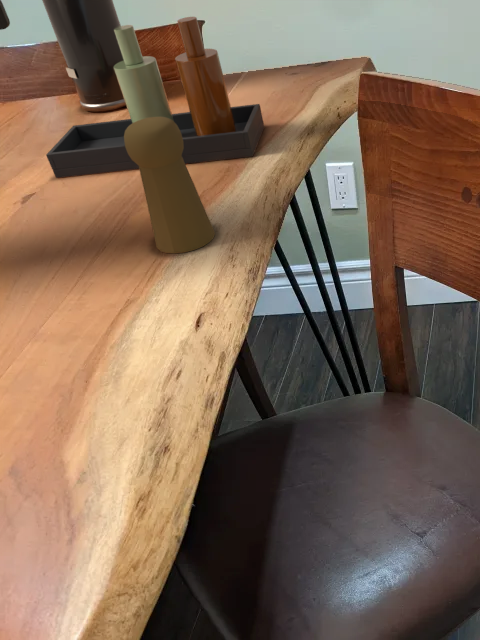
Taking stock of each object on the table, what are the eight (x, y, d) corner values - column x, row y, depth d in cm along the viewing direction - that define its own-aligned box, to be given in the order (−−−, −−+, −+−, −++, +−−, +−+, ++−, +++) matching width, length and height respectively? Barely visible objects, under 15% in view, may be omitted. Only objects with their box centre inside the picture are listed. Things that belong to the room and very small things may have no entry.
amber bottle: (204, 131, 89) (172, 15, 80) (241, 128, 88) (213, 11, 79) (193, 146, 86) (158, 27, 77) (231, 143, 85) (201, 22, 76)
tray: (55, 178, 86) (45, 154, 84) (82, 147, 93) (73, 125, 91) (253, 156, 84) (247, 131, 82) (264, 127, 91) (259, 103, 89)
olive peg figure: (181, 222, 73) (144, 107, 65) (226, 228, 70) (194, 110, 62) (143, 249, 69) (99, 131, 61) (190, 256, 67) (150, 135, 59)
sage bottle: (148, 138, 90) (111, 23, 81) (184, 135, 89) (151, 19, 80) (135, 152, 86) (94, 35, 77) (172, 149, 86) (136, 31, 77)
